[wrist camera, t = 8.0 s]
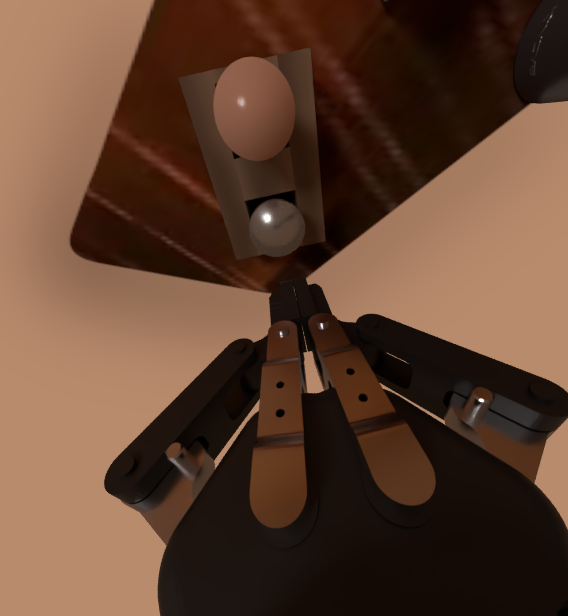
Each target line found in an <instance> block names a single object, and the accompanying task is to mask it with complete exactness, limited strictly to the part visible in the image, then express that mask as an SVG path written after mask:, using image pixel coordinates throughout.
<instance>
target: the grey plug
mask: <svg viewBox="0 0 568 616" xmlns="http://www.w3.org/2000/svg"><path fill="white" fill-rule="evenodd" d="M249 233H250V238H251V240H252V242H253V244H254V246H255V247H256V248H257V249H258V250H259V251H260V252H262V253H264V254H266V255H268V256H272V257H281V256H285V255H288V254H290V253H292V252H293V251H295V250H296V249H297V248H298V247H299V245H300V244H301V242H302V240H303V238H304V234H305V222H304V219H303V216H302V214H301V213H300V211H299V210H298V208H297V207H296V206H295V205H294V204H292V203H291V202H289V201H287V199H286V198H285V197H284V196H283V195H282V194H281V193H279V194H274V195H270V196H265V197H260V198H258V200H257V202H256V205H255V210H254V212H253V214H252V216H251V218H250V223H249Z"/></svg>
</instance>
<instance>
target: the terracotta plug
mask: <svg viewBox="0 0 568 616" xmlns="http://www.w3.org/2000/svg"><path fill="white" fill-rule="evenodd" d="M213 105H214V117H215V121H216V125H217V128H218V130H219V133H220V135H221V137H222V138H223V140H224V142H225V143H226V144H227V146H228V147H229V148H230V149H231V150H232V151H233V152H235V153H236V154H237V155H239V156H241V157H243V158H245V159H248V160H252V161H263V160H267V159H270V158H272V157H274V156H275V155H277V154H278V153H279V152H280V151H281V150H282V149H283V148H284V147H285V146H286V144H287V143H288V141H289V139H290V137H291V134H292V132H293V128H294V123H295V103H294V97H293V94H292V91H291V88H290V85H289V83H288V82H287V80H286V78H285V77H284V75H283V74H282V73H281V71H280V70H279V69H278V68H277V67H276V66H274V65H273V64H272V63H270V62H269V61H267V60H264V59H262V58H258V57H245V58H241V59H238V60H237V61H235V62H233V63H232V64H231V65H229V66H228V67H227V68H226V69H225V71H224V72H223V73H222V75H221V76H220V79H219V81H218V83H217V86H216V89H215V94H214V102H213Z"/></svg>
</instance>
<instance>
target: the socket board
mask: <svg viewBox="0 0 568 616" xmlns="http://www.w3.org/2000/svg"><path fill="white" fill-rule="evenodd" d="M263 59H264V60H267V61H269V62H270V63H272V64H273V65H274V66H276V67H277V68H278V69H279V70H280V71H281V73H282V74H283V75H284V77H285V78H286V80H287V82H288V83H289V85H290V88H291V91H292V94H293V97H294V103H295V123H294V128H293V132H292V134H291V137H290V139H289V141H288V143H287V144H286V146H285V147H284V148H283V149H282V150H281V151H280V152H279V153H278V154H277V155H275V156H274V157H272V158H270V159H267V160H263V161H252V160H248V159H245V158H243V157H241V156H239V155H237V154H236V153H235V152H233V151H232V150H231V149H230V148H229V147H228V146H227V144H226V143H225V142H224V140H223V138H222V137H221V135H220V133H219V130H218V128H217V125H216V121H215V117H214V105H213V102H214V94H215V89H216V86H217V83H218V81H219V79H220V76H221V75H222V73H223V72H224V71H225V69H226V68H227V67H223V68H219V69H215V70H210V71H206V72H202V73H197V74H193V75H188V76H184V77H180V78H178V79H179V82H180V85H181V88H182V91H183V94H184V97H185V100H186V103H187V107H188V110H189V113H190V116H191V119H192V122H193V125H194V128H195V131H196V135H197V138H198V141H199V144H200V147H201V150H202V153H203V156H204V160H205V163H206V166H207V169H208V172H209V175H210V178H211V181H212V184H213V188H214V191H215V194H216V197H217V200H218V203H219V206H220V209H221V213H222V216H223V219H224V222H225V225H226V228H227V231H228V234H229V237H230V241H231V244H232V247H233V250H234V253H235V256H236V259H237V260H239V259H244V258H249V257H253V256H258V255H263V254H264V253H262V252H260V251H259V250H258V249H257V248H256V247H255V246H254V244H253V242H252V240H251V238H250V233H249V223H250V218H251V216H252V213H251V209H250V205H249V201H248V200H251V199H256V198H260V197H265V196H270V195H274V194H279V193H283V192H288V191H291V196H292V203H293V204H294V205H295V206H296V207H297V208H298V210H299V211H300V213H301V214H302V216H303V219H304V222H305V234H304V238H303V240H302V242H301V244H300V245H299V247H301V246H305V245H310V244H315V243H320V242H324V241H325V228H324V215H323V203H322V190H321V177H320V165H319V152H318V139H317V127H316V114H315V101H314V88H313V76H312V63H311V50H310V48H306V49H302V50H298V51H293V52H289V53H285V54H280V55H276V56H271V57H267V58H263Z"/></svg>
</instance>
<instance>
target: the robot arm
mask: <svg viewBox="0 0 568 616" xmlns="http://www.w3.org/2000/svg"><path fill="white" fill-rule="evenodd" d="M514 79H515V85H516V88H517V91H518V93H519V95H520V96H521V97H522V98H523V99H524V100H525V101H528V102H530V103H540V104H541V103H551V102H562V101H568V0H543V1H542V2H541V3H540V5H539V7H538V8H537V10H536V11H535V13H534V15H533V16H532V18H531V19H530V21H529V24H528V26H527V28H526V30H525V32H524V34H523V36H522V39H521V42H520V45H519V48H518V51H517V56H516V60H515V68H514ZM293 283H294V287H293ZM293 283H292V280H288V281H283V282H280V289H281V291H277V292H272V294H271V296H270V298H269V303H270V317H271V327H270V328H269V330H268V335H267V336H266V337H264V338H263V339H261V340H259V341H257V342H254V343H253V342H252V341H251V340H249V339H245V338H244V339H238V340H235V341H234V342H232V343H231V344H229V345H228V347H226V348H225V349H224V350H223V351H222V352H221V353H220V354H219V355H218V356H217V357H216V358H215V359H214V360H213V361H212V362H211V364H209V365H208V367H207V368H206V369H204V370H203V371H202V373H200V375H199V376H197V377H196V378H195V379H194V381H192V383H190V385H188V387H186V388H185V389H184V390H183V392H182V393H180V395H179V396H178V397H177V398H176V399H175V400H174V401H173V402H172V403H171V404H170V405H169V406H168V407H167V408H166V409H165V410H164V411H163V412H162V413H161V414H160V415H159V416H158V417H157V418H156V419H155V420H154V421H153V422H152V423H151V424H150V425H149V426H148V427H147V428H146V429H145V430H144V431H143V432H142V433H141V434H140V435H139V436H138V437H137V438H136V439H135V440H134V441H133V442H132V443H131V444H130V445H129V446H128V447H127V448H126V449H125V450H124V451H123V452H122V453H121V454H120V455H119V456H118V457H117V458H116V459H115V460H114V461H113V463H112V464H111V465H110V467H109V469H108V471H107V473H106V476H105V480H104V485H105V489H106V491H107V492H108V493H109V494H111V495H113V496H115V497H117V498H118V499H120V500H121V501H122V502H123V503H124V504H126V505H127V506H129V507H131V508H133V509H135V510H137V511H139V512H140V513H141V514H142V516H143V517H144V518H145V519H146V520H147V522H148V523H149V524H150V525H151V527H152V528H153V529H154V531H155V532H156V533H157V534H158V536H159V537H160V538H161V539H162V541H163V542H164V543H165V544H166V545H167V546H166V549H165V552H164V555H163V558H162V562H161V566H160V571H159V578H158V602H159V610H160V616H568V529H567V527H566V525H565V523H564V521H563V519H562V518H561V516H560V514H559V513H558V511H557V509H556V508H555V507H554V505H553V504H552V503H551V501H550V500H549V499H548V498H547V497H546V495H545V494H544V493H543V492H542V491H541V490H540V489H539V488H538V487H537V486H536V485H535V484H534V482H535V479H536V475H537V471H538V468H539V464H540V461H541V457H542V454H543V450H544V447H545V443H546V440H547V439H548V438H549V437H550V436H551V435H552V434H553V433H554V432H555V431H556V430H557V429H558V427H560V426H561V424H562V423H563V422H564V421H565V420H566V419H567V418H568V393H567V392H566V391H565V390H564V389H563V388H561V387H560V386H558V385H557V384H555V383H553V382H551V381H549V380H547V379H544V378H542V377H539V376H536V375H534V374H531V373H528V372H526V371H523V370H521V369H518V368H516V367H513V366H510V365H508V364H505V363H503V362H500V361H497V360H495V359H492V358H490V357H487V356H485V355H482V354H479V353H477V352H474V351H471V350H469V349H466V348H464V347H461V346H459V345H456V344H453V343H451V342H448V341H446V340H443V339H440V338H438V337H435V336H433V335H430V334H427V333H425V332H422V331H419V330H417V329H414V328H412V327H409V326H407V325H404V324H401V323H399V322H396V321H394V320H391V319H389V318H386V317H383V316H381V315H378V314H366V315H363V316H361V317H359V318H358V319H357V321H356V323H353V322H342V321H340V320H337V318H336V317H335V316H334V315H332V313H331V310H330V308H329V305H328V303H327V300H326V298H325V295H324V293H323V290H322V288H321V287H320V286H319V285H317V284H311V285H308V284H307V281H306V278H305V277H303V278H298V279H293ZM294 289H295V292H294ZM295 294H296V296H295ZM296 299H297V300H296ZM302 327H303V329H302ZM303 332H304V334H303ZM304 336H305V339H304ZM305 340H306V345H307V349H308V351H312V352H313V357H314V362H315V366H316V369H317V372H318V375H319V377H320V380H321V383H322V386H323V389H324V391H322V392H320V393H316V394H315V393H307V385H306V375H305V366H304V354H303V353H304V352H307V350H306V345H305ZM387 353H389V354H391V355H393V356H395V357H397V358H400V359H402V360H404V361H406V362H407V363H405V362H404V361H401V360H399V359H397V358H395V357H393V356H391V355H389V354H387ZM380 383H381V384H383V385H384V386H386V387H388V388H390V389H391V390H393V391H395V392H396V393H398V394H400V395H402V396H403V397H405V398H407V399H408V400H410V401H412V402H414V403H415V404H417V405H419V406H420V407H422V408H424V409H426V410H427V411H429V412H431V413H433V414H434V415H436V416H438V417H439V418H441V419H443V420H445V424H446V425H444V424H443V423H441V422H440V421H438V420H436V419H435V418H433V417H432V416H430V415H428V414H427V413H425V412H424V411H422V410H420V409H419V408H417V407H416V406H414V405H412V404H411V403H409V402H408V401H406V400H404V399H403V398H401V397H400V396H398V395H396V394H394V393H392V392H390V391H388V390H385V389H383V388H382V387H381V385H380ZM259 399H260V405H259V411H258V412H257V413H255V414H254V415H253V416H252V417H251V418H250V420H249V421H248V422H247V423H246V425H245V426H244V428H243V429H242V431H241V432H240V434H239V435H238V437H237V438H236V440H235V441H234V443H233V444H232V445H231V447H230V448H229V450H228V451H227V453H226V454H225V456H224V457H223V459H222V460H221V462H220V463H219V465H218V466H217V467H216V469H215V464H214V460H215V459H216V457H217V456H218V455H219V453H220V452H221V450H222V449H223V448H224V446H225V445H226V444H227V442H228V441H229V440H230V438H231V437H232V436H233V434H234V433H235V432H236V430H237V429H238V427H239V426H240V425H241V423H242V422H243V421H244V419H245V418H246V417H247V415H248V414H249V413H250V411H251V410H252V408H253V407H254V406H255V404H256V403H257V401H258V400H259Z"/></svg>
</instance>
